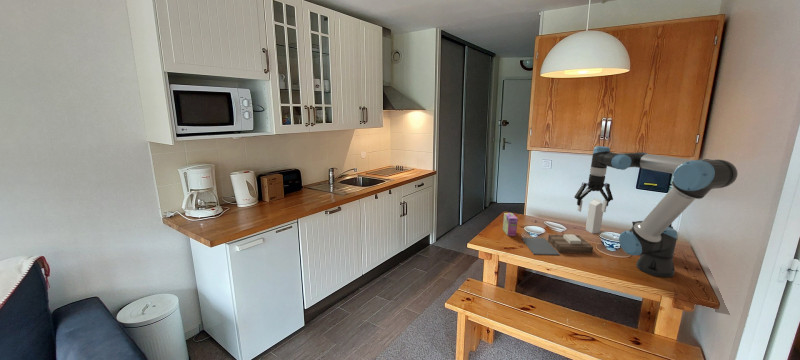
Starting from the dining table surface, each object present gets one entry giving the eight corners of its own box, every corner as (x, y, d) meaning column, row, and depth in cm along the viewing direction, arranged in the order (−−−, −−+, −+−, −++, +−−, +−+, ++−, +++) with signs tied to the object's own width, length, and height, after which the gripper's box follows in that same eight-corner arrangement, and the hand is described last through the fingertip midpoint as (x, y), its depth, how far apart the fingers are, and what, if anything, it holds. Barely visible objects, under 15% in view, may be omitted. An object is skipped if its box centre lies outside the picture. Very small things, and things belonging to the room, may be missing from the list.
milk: (592, 233, 210) (596, 200, 205) (585, 230, 216) (589, 198, 210) (600, 232, 211) (605, 200, 206) (593, 229, 217) (597, 197, 211)
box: (516, 235, 206) (517, 218, 203) (507, 235, 206) (508, 218, 203) (511, 229, 216) (512, 212, 213) (502, 229, 216) (503, 212, 214)
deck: (592, 253, 182) (593, 246, 181) (559, 252, 183) (559, 246, 182) (578, 241, 198) (579, 235, 197) (548, 240, 198) (548, 234, 198)
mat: (559, 255, 180) (559, 254, 180) (533, 254, 181) (533, 253, 181) (544, 238, 201) (544, 238, 201) (521, 238, 202) (521, 237, 202)
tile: (580, 244, 185) (581, 240, 184) (569, 243, 185) (570, 240, 185) (573, 237, 193) (573, 234, 193) (563, 237, 194) (563, 234, 193)
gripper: (616, 173, 182) (610, 209, 187) (571, 172, 184) (566, 208, 189) (624, 176, 175) (617, 214, 180) (577, 175, 176) (571, 212, 182)
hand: (591, 211), depth 185 cm, fingers open, 12 cm apart
